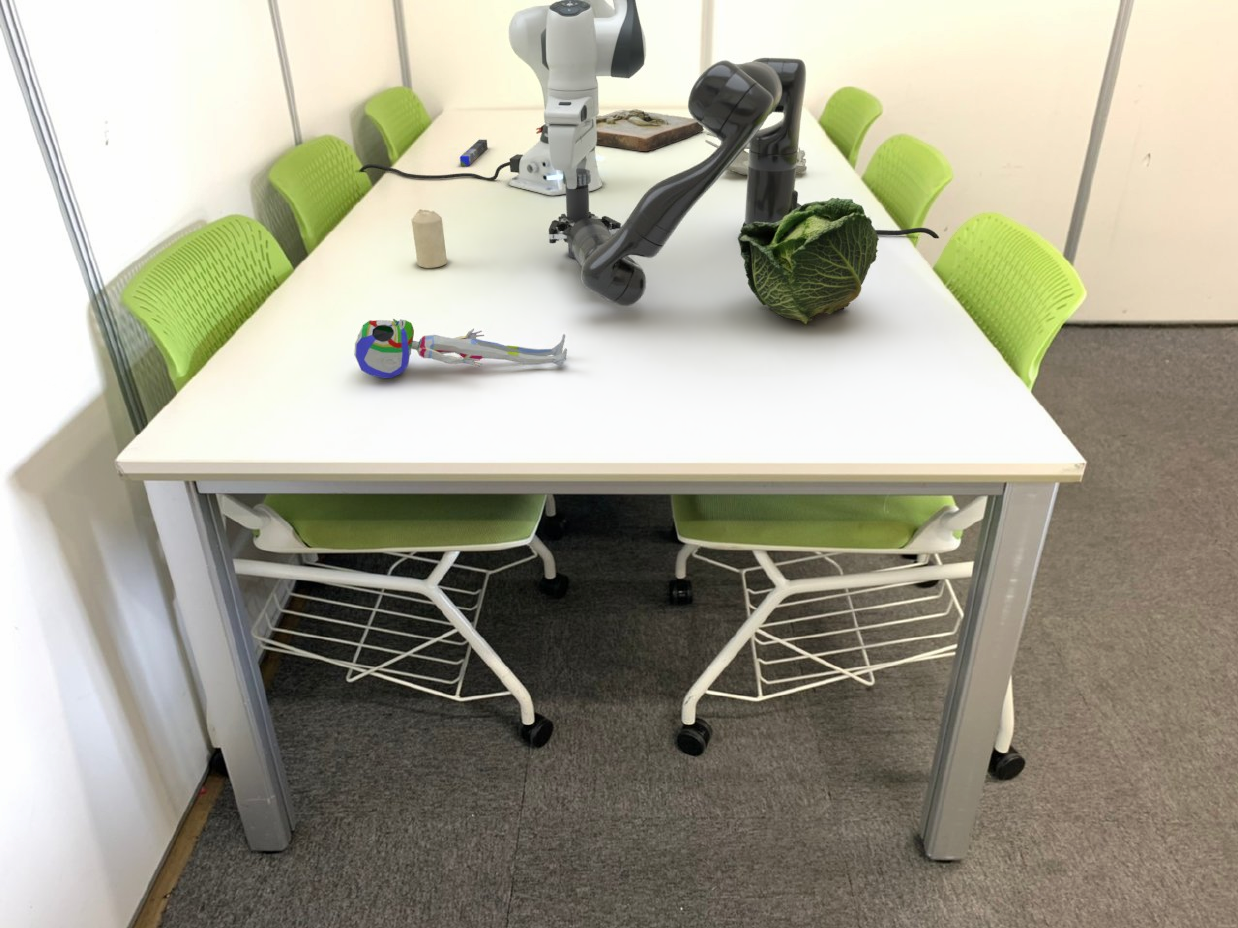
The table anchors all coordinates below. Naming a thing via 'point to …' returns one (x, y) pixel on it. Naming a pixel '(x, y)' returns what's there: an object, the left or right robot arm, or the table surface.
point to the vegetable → (810, 258)
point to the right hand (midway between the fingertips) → (575, 218)
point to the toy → (435, 349)
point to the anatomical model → (742, 159)
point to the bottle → (577, 206)
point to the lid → (580, 177)
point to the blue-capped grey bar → (473, 152)
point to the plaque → (643, 129)
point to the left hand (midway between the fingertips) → (576, 183)
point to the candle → (429, 239)
